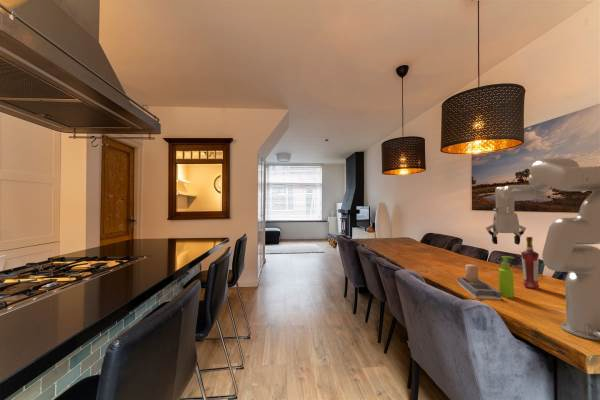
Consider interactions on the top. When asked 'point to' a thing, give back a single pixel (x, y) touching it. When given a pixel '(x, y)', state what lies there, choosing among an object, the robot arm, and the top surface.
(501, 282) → the soap dispenser
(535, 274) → the liquor
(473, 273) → the rail
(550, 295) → the top surface
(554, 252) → the robot arm
